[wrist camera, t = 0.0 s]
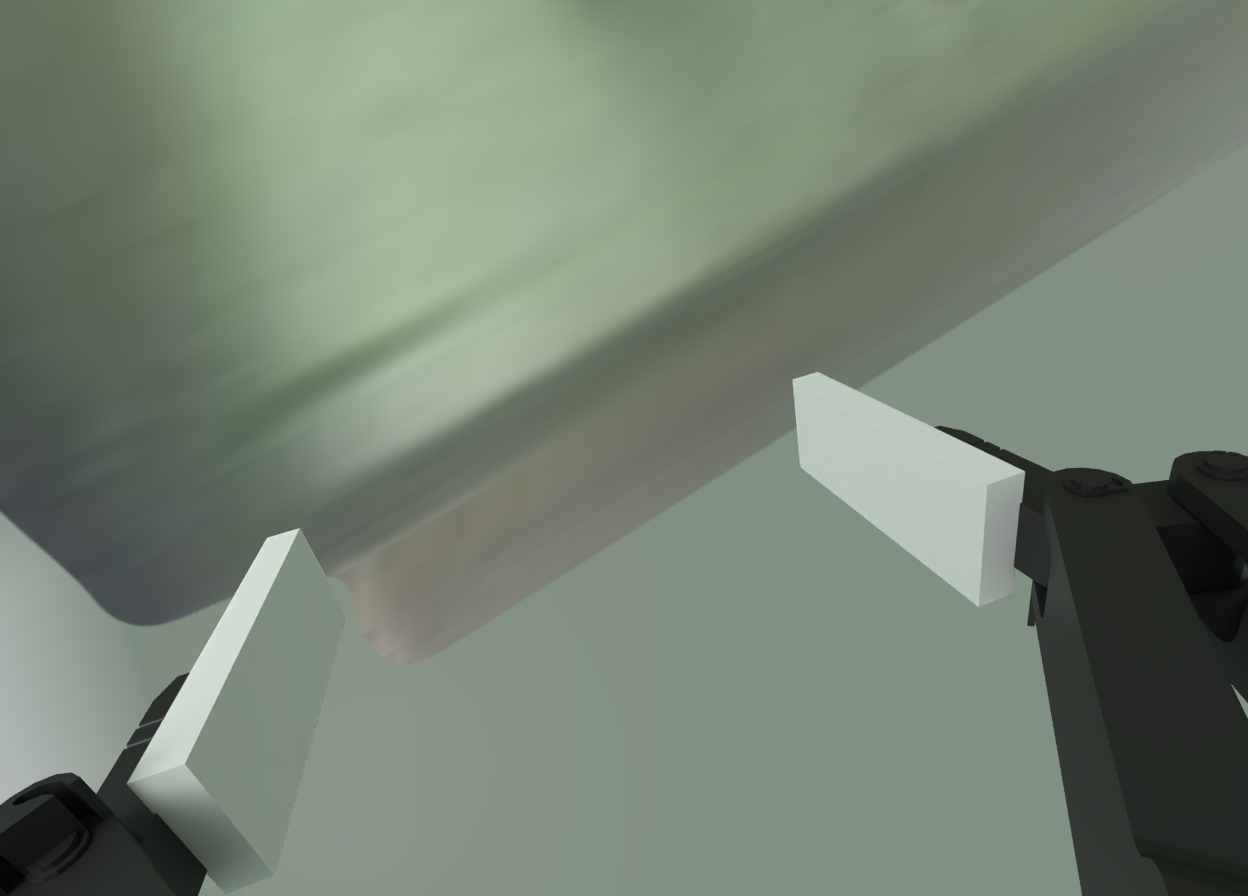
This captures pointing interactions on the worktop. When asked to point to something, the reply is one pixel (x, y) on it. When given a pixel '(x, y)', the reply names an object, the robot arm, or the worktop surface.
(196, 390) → the worktop surface
